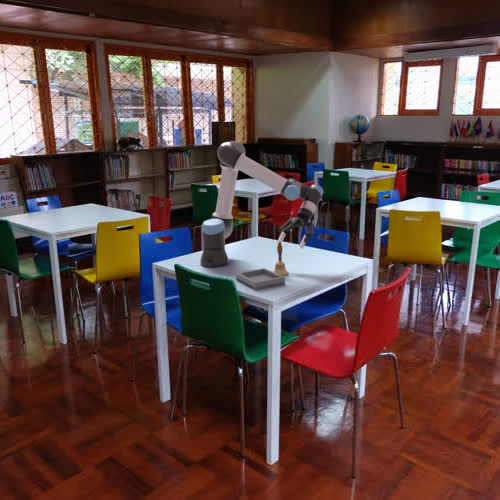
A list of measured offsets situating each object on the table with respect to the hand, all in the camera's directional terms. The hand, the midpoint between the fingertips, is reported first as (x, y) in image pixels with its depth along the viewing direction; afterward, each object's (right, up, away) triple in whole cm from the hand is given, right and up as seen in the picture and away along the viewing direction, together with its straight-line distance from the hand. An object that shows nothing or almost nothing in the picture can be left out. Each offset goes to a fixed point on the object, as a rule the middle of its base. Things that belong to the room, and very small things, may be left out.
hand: (289, 245), depth 250 cm
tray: (-15, -18, -14) cm, 27 cm away
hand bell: (-5, -14, -1) cm, 15 cm away
